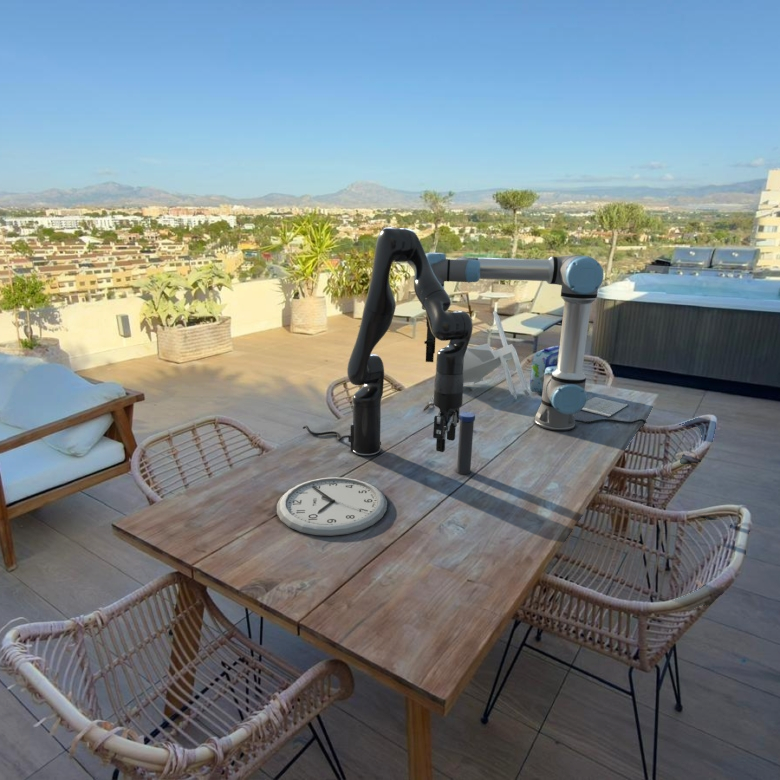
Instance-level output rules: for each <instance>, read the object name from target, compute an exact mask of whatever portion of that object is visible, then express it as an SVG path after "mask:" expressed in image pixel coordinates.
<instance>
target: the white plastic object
mask: <svg viewBox="0 0 780 780" xmlns="http://www.w3.org/2000/svg"><path fill="white" fill-rule="evenodd" d="M492 315H493V319H494V321H495V324H496V325H495V326H496V328H497V332H498V335H499V338H500V342H501V345H502V347H500V348H498V349H496V350H495V349H493V348H492V347H491V346H490V344H489V343H488V342H487V343H483V344H479V345H473V346H469V345H468V347H467V350H466V353H465V356H464V367H463V379H464V383H463V384H467V383H468V384H469V383H473V384H477V383H480V382H482V381H484V378H485V377H486V376H487V375H489V374H490V373H492V372H494V371H495V370H496V369H497V368H499V367H500V366H502V370H503V373H504V376H505V380H506V383H507V386H508V390H509V393H510V394H511V395H512V397H513V398H514V399H515V400H517V392H516V391H517V390H516V388H515V385H514V381H513V378H512V375H511V371H510V369H509V365H508V361H510V360H513V363H514V366H515V369H516V372H517V376H518V380H519V382H520V385H521V389H522V391H523V393H524V395H525V396H526V397H528V396H531V395H530V389H529V388H528V387H529V386H528V384H527V381H526V378H525V375H524V371H523V369H522V368H523V367H522V366H521V362H520V359H519V355H518V352H517V349H516V347H515V346H514V345H513V343H511V344H508V341H507V337H506V334H505V331H504V328H503V325H502V321H501V318H500V315H499V314H498V312H497V311H496V310H495V311H492Z"/></svg>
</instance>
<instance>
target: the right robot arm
mask: <svg viewBox="0 0 780 780" xmlns="http://www.w3.org/2000/svg"><path fill="white" fill-rule="evenodd" d="M425 254H426V256H427V258H428V261H429V263H430V266H431V268H432V270H433V272H434V274H435V276H436V278H437V279H438V281H439V282H440V284H441V285H442V287H443V288H444V289H445V282H447V283H449V282H452V283H453V282H457V283H468V284H470V283H477V282H479V281H480V280H495V281H497V280H499V281H500V280H501V281H526V282H527V281H531V282H546V283H547V284H548V285H557V286H561V289H560V298H561V299H562V300H563V303H564V305H563V313H562V322H561V330H560V339H559V345H558V346H559V355H558V364H557V366H553V367H547V368H546V369H545V373H544V382H543V392H542V393H541V402H540V405H539V407H538V410H537V411H536V413H535V417H534V424H535V425H536V426H537V427H539V428H542V429H544V430H549V431H556V432H567V431H572V430H574V429H575V428H576V423H580V424H593V423H598V422H612V423H613V422H614V423H620V424H635V423H639V422H643V423H645V424H647V423H648V422H647V421H646V420H645V419H643V418H638V419H635V420H628V421H627V420H621V419H614V418H613V419H612V418H599V419H594V420H581V419H576V418H575V417H576V416H575V414H576V413H579V412H580V411H582V410H581V409H582V408H583V407H584V406H585V404H586V401H588V397H587V392H586V389H585V388H586V383H587V382H586V381H587V375H586V374H585V373H584V371H583V369H584V361H585V355H586V347H587V339H588V338H587V337H588V330H589V324H590V318H591V317H590V316H591V308H592V303H593V302H594V301H596V300H597V298H598V294H599V293H598V291H599V288H601V285H602V284H603V281H604V269H603V267H602V265H601V264H600V262H599V261H597V260H596V259H595V258H594V257H592V256H587V255H581V254H574V255H573V254H572V255H565V256H551V257H549V258H548V259H545V258H544V259H543V258H542V259H541V258H540V259H539V258H501V257H500V258H497V257H496V258H495V257H494V258H492V257H466V256H460V257H457V258H455V259H451V258H449V259H448V258H447V257H446V253H444V252H427V253H426V252H425ZM421 309H422V310H423V311H426V310H425V309H424V307H423V306H422V305H421ZM425 315H426V316H425V320H426V340H424V342H423V343H424V344H425V362H426V363H434V359H435V357H434V356H435V353H436V339H437V338H436V337H435V336H434V335H433V334H432V332H431V329H430V325H429V321H428V317H427V314H425Z"/></svg>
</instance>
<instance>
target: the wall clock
mask: <svg viewBox="0 0 780 780" xmlns="http://www.w3.org/2000/svg"><path fill="white" fill-rule="evenodd" d="M387 509H388V500H387V498H386V496H385V494H384V493H383V492H382V491H381V490H380V489H379V488H377V487H376V486H374V485H372V484H371V483H369V482H365V481H362V480H359V479H355V478H349V477H338V476H337V477H335V476H333V477H332V476H331V477H322V478H317V479H312V480H307V481H305V482H302V483H299V484H297V485H295V486H293V487H292V488H290V489H288V490H287V491H286V492H285V493H284V494H283V495H281V496H280V498H279V499H278V502H277V503H276V515H277V517H278V518H279V520H280V521H281V522H282V523H283V524H285V525H286V526H287V527H288V528H290V529H293V530H295V531H297V532H299V533H303V534H308V535H312V536H327V537H328V536H329V537H331V536H332V537H333V536H342V535H350V534H352V533H356V532H361V531H363V530H366V529H368V528H369V527H372V526H373V525H375V524H376V523H378V522H379V521H380V520H381V519H382V518H383V517H384V516H385V514H386V512H387Z"/></svg>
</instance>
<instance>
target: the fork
mask: <svg viewBox="0 0 780 780" xmlns="http://www.w3.org/2000/svg"><path fill="white" fill-rule="evenodd" d="M431 405H434V397H433V396H432V395H431V396H430V399H429V401H428V404H426V405H425V407H424V409H423V411H422V412H424V411H426V410H428V408H429V407H430V406H431Z"/></svg>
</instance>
